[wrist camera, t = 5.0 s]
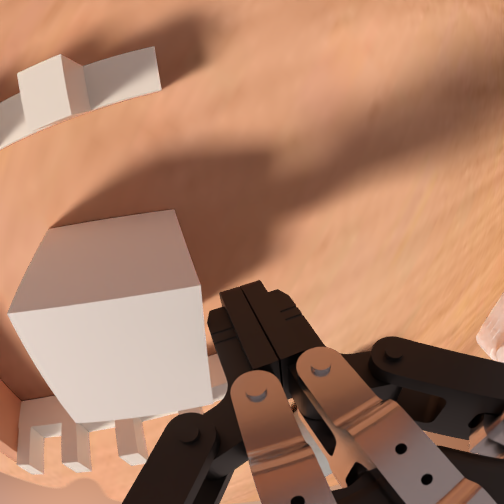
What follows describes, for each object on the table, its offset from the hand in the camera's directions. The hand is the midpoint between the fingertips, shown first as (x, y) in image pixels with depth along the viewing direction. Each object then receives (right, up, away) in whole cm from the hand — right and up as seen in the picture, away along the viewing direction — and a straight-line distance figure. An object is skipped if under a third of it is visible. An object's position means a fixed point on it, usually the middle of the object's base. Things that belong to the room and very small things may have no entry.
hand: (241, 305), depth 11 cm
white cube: (-6, +1, +3) cm, 7 cm away
